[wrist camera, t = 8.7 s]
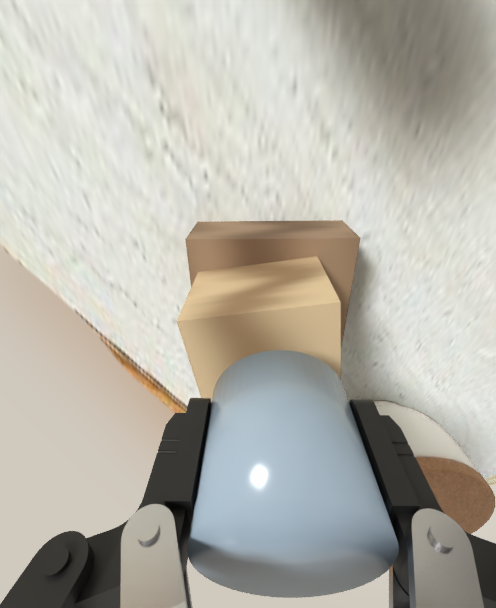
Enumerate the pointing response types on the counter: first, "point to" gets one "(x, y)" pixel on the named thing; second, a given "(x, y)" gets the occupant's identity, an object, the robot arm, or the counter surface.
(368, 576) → the blue rounded cylinder
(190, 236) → the walnut slab
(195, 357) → the oak block
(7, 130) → the counter surface
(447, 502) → the lidded jar
